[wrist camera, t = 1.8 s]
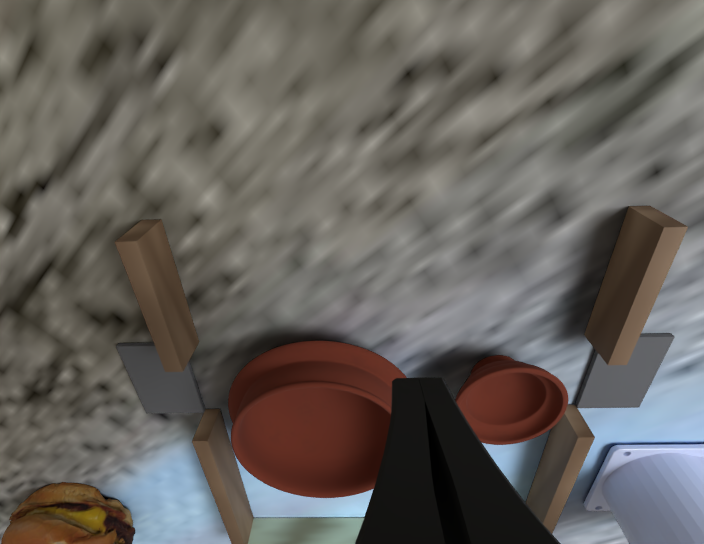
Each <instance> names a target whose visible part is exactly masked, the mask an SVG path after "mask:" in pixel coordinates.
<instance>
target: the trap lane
mask: <svg viewBox="0 0 704 544" xmlns="http://www.w3.org/2000/svg"><path fill="white" fill-rule="evenodd" d="M687 228H688V227H687V226H686V225H684V224H682V223H680V222H678V221H677V220H675V219H673V218H671V217H669V216H668V215H666V214H664V213H662V212H660V211H658V210H657V209H655V208H653V207H651V206H629V207H628V210H627V213H626V216H625V219H624V222H623V225H622V228H621V230H620V233H619V236H618V239H617V242H616V245H615V248H614V250H613V253H612V256H611V259H610V262H609V265H608V268H607V271H606V273H605V276H604V279H603V282H602V285H601V288H600V291H599V294H598V296H597V299H596V302H595V305H594V308H593V311H592V314H591V317H590V319H589V322H588V325H587V328H586V331H585V334H584V335H585V337H586V338H587V339H588V341H589V342H590V343H591V344H592V346H593V347H594V348H595V350H596V351H597V352H598V353H599V355H600V356H601V357H602V359H603V360H604V361H605V362H606V364H607V365H627V364H628V361H629V359H630V357H631V355H632V352H633V350H634V348H635V346H636V343H637V341H638V339H639V337H640V334H641V332H642V330H643V328H644V325H645V323H646V321H647V319H648V316H649V314H650V312H651V310H652V307H653V305H654V303H655V301H656V298H657V296H658V294H659V292H660V289H661V287H662V285H663V283H664V280H665V278H666V276H667V274H668V271H669V269H670V267H671V265H672V262H673V260H674V258H675V255H676V253H677V251H678V249H679V246H680V244H681V242H682V240H683V237H684V235H685V233H686V231H687ZM115 244H116V247H117V249H118V252H119V254H120V257H121V259H122V262H123V265H124V267H125V270H126V272H127V275H128V278H129V280H130V283H131V285H132V288H133V290H134V293H135V296H136V298H137V301H138V303H139V306H140V308H141V311H142V314H143V316H144V319H145V321H146V324H147V327H148V329H149V332H150V334H151V337H152V339H153V342H154V345H155V347H156V350H157V352H158V355H159V357H160V360H161V363H162V365H163V368H164V370H165V372H183V371H184V369H185V367H186V365H187V364H188V362H189V360H190V358H191V356H192V354H193V352H194V351H195V349H196V347H197V345H198V343H199V340H198V336H197V333H196V330H195V327H194V323H193V320H192V317H191V314H190V310H189V307H188V304H187V301H186V298H185V294H184V291H183V288H182V285H181V281H180V278H179V275H178V272H177V268H176V265H175V262H174V259H173V255H172V252H171V249H170V246H169V243H168V239H167V236H166V233H165V230H164V226H163V223H162V220H141V221H140V222H139V223H138V224H136V225H135V226H134V227H133V228H131V229H130V230H129V231H128V232H126V233H125V234H124V235H123V236H121V237H120V238H119V239H118V240H116V241H115ZM594 438H595V437H594V435H593V434H592V432H591V430H590V429H589V427H588V425H587V424H586V422H585V420H584V419H583V417H582V415H581V414H580V412H579V410H578V409H577V407H576V405H567V409H566V411H565V413H564V415H563V416H562V418H561V419H560V420H559V421H558V423H557V424H556V425H554V426H553V427H552V429H551V431H550V434H549V437H548V440H547V443H546V446H545V449H544V452H543V454H542V457H541V460H540V463H539V466H538V469H537V472H536V474H535V477H534V480H533V483H532V486H531V489H530V492H529V495H528V497H527V500H526V504H527V505H528V506H529V508H530V509H531V510H532V511H533V512H534V514H535V515H536V516H537V517H538V518H539V520H540V521H541V522H542V523H543V524H544V526H545V527H546V528H547V529H548V530H549V531H550V532H551V534H552V533H553V531H554V528H555V526H556V524H557V521H558V519H559V517H560V515H561V512H562V510H563V508H564V506H565V503H566V501H567V499H568V497H569V494H570V492H571V490H572V488H573V485H574V483H575V481H576V479H577V476H578V474H579V472H580V470H581V467H582V465H583V463H584V461H585V458H586V456H587V454H588V452H589V449H590V447H591V445H592V443H593V440H594ZM192 443H193V445H194V448H195V450H196V453H197V455H198V458H199V461H200V463H201V466H202V468H203V471H204V474H205V476H206V479H207V481H208V484H209V486H210V489H211V492H212V494H213V497H214V499H215V502H216V504H217V507H218V510H219V512H220V515H221V517H222V520H223V522H224V525H225V528H226V530H227V533H228V535H229V538H230V541H231V543H232V544H355V542H356V539H357V536H358V534H359V531H360V529H361V526H362V523H363V520H364V518H254V517H253V514H252V511H251V508H250V505H249V501H248V498H247V495H246V492H245V488H244V485H243V482H242V479H241V475H240V472H239V469H238V466H237V462H236V459H235V456H234V453H233V450H232V446H231V443H230V440H229V437H228V433H227V430H226V427H225V424H224V420H223V417H222V414H221V411H220V409H205V412H204V414H203V416H202V419H201V421H200V424H199V426H198V428H197V431H196V433H195V435H194V438H193V440H192Z"/></svg>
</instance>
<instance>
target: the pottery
mask: <svg viewBox="0 0 704 544" xmlns="http://www.w3.org/2000/svg"><path fill="white" fill-rule="evenodd" d="M396 378H407V377H406V376H405V375H404V374H403V373H402V372H401V371H400V370H399V369H398V368H397V367H396V366H395V365H394V364H392V363H391V362H389V361H388V360H386V359H385V358H383V357H382V356H380V355H378V354H376V353H374V352H372V351H369V350H367V349H364V348H361V347H358V346H355V345H351V344H346V343H341V342H333V341H303V342H296V343H291V344H286V345H283V346H279V347H276V348H274V349H271V350H269V351H267V352H265V353H263V354H261V355H259V356H257V357H256V358H254V359H253V360H252V361H250V362H249V363H248V364H247V365H246V366H245V367H244V368H243V369H242V370H241V371H240V372H239V373H238V375H237V376H236V378H235V380H234V381H233V383H232V386H231V389H230V392H229V398H228V408H229V413H230V417H231V420H232V422H233V425H232V430H231V444H232V448H233V451H234V453H235V455H236V457H237V459H238V460H239V462H240V463H241V465H242V466H243V467H244V468H245V469H246V470H247V471H248V472H249V473H250V474H252V475H253V476H254V477H256V478H257V479H258V480H260V481H262V482H263V483H265V484H267V485H269V486H271V487H274V488H276V489H278V490H281V491H284V492H288V493H291V494H295V495H300V496H306V497H316V498H335V497H345V496H351V495H355V494H359V493H363V492H366V491H369V490H371V489H374V486H375V483H376V480H377V476H378V472H379V468H380V465H381V461H382V457H383V454H384V449H385V445H386V440H387V435H388V430H389V425H390V418H391V403H392V381H393V380H394V379H396ZM455 401H456V403H457V405H458V406H459V408H460V410H461V411H462V413H463V415H464V416H465V418H466V420H467V421H468V423H469V424H470V426H471V428H472V429H473V431H474V432H475V434H476V435H477V437H478V438H479V440H480V441H481V442H482V443H486V444H494V445H506V444H515V443H520V442H524V441H527V440H530V439H533V438H535V437H537V436H540V435H541V434H543V433H545V432H547V431H548V430H549V429H551V428H552V427H553V426H554V425H556V424H557V423H558V421H559V420H560V419H561V418H562V416H563V415H564V413H565V411H566V409H567V405H568V393H567V390H566V388H565V386H564V385H563V383H562V382H561V381H560V380H559V379H558V378H557V377H555V376H554V375H552V374H551V373H549V372H548V371H546V370H544V369H542V368H540V367H537V366H534V365H529V364H526V363H523V362H519V361H515V360H513V359H512V358H510V357H507V356H503V355H495V356H490V357H487V358H484V359H482V360H481V361H479V362H478V363H477V364H476V365H475V366H474V367H473V369H472V371H471V375H470V376H469V378H468V379H467V380H466V382H465V384H464V385H463V386H462V387H461V389H460V390H459V392H458V394H457V396H456V399H455Z"/></svg>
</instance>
